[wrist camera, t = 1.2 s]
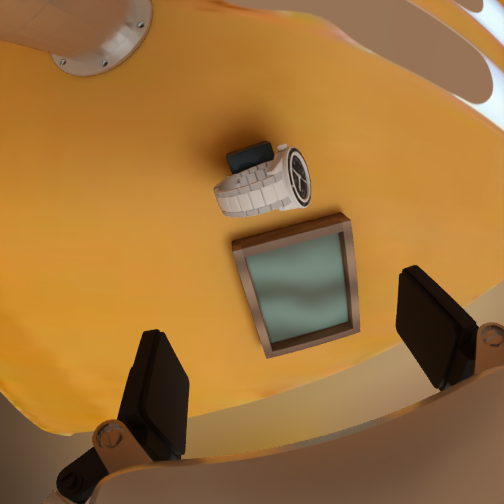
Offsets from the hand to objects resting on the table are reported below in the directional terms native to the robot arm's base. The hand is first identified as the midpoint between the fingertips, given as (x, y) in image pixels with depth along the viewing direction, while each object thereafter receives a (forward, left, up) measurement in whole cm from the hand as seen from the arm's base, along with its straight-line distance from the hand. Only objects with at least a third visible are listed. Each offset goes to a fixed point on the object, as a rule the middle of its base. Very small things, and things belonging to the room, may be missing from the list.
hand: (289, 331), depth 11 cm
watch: (-2, +1, -23) cm, 23 cm away
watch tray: (+13, +3, -23) cm, 26 cm away
